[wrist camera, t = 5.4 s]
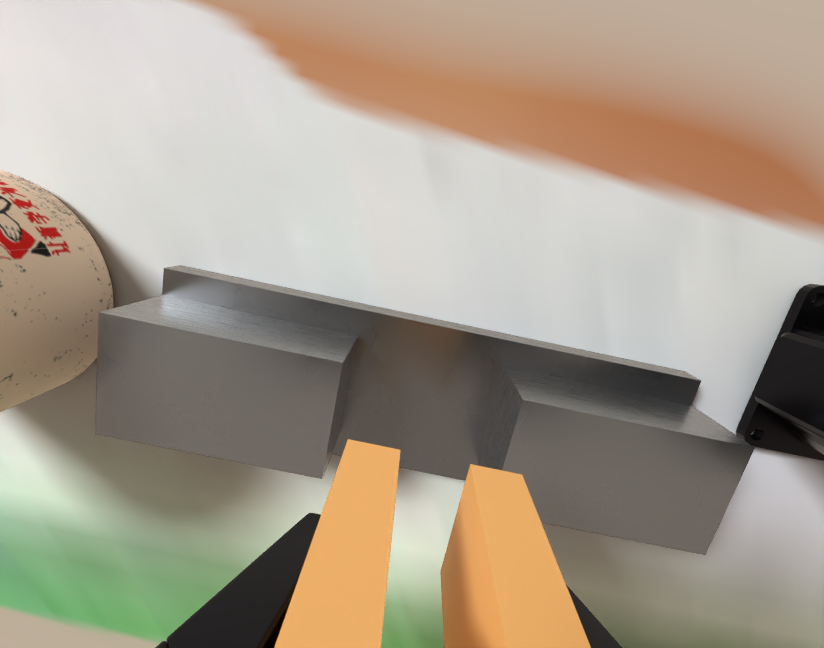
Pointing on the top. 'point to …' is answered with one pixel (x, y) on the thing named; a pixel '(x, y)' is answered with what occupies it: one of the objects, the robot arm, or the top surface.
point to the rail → (415, 403)
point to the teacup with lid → (45, 292)
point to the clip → (460, 574)
